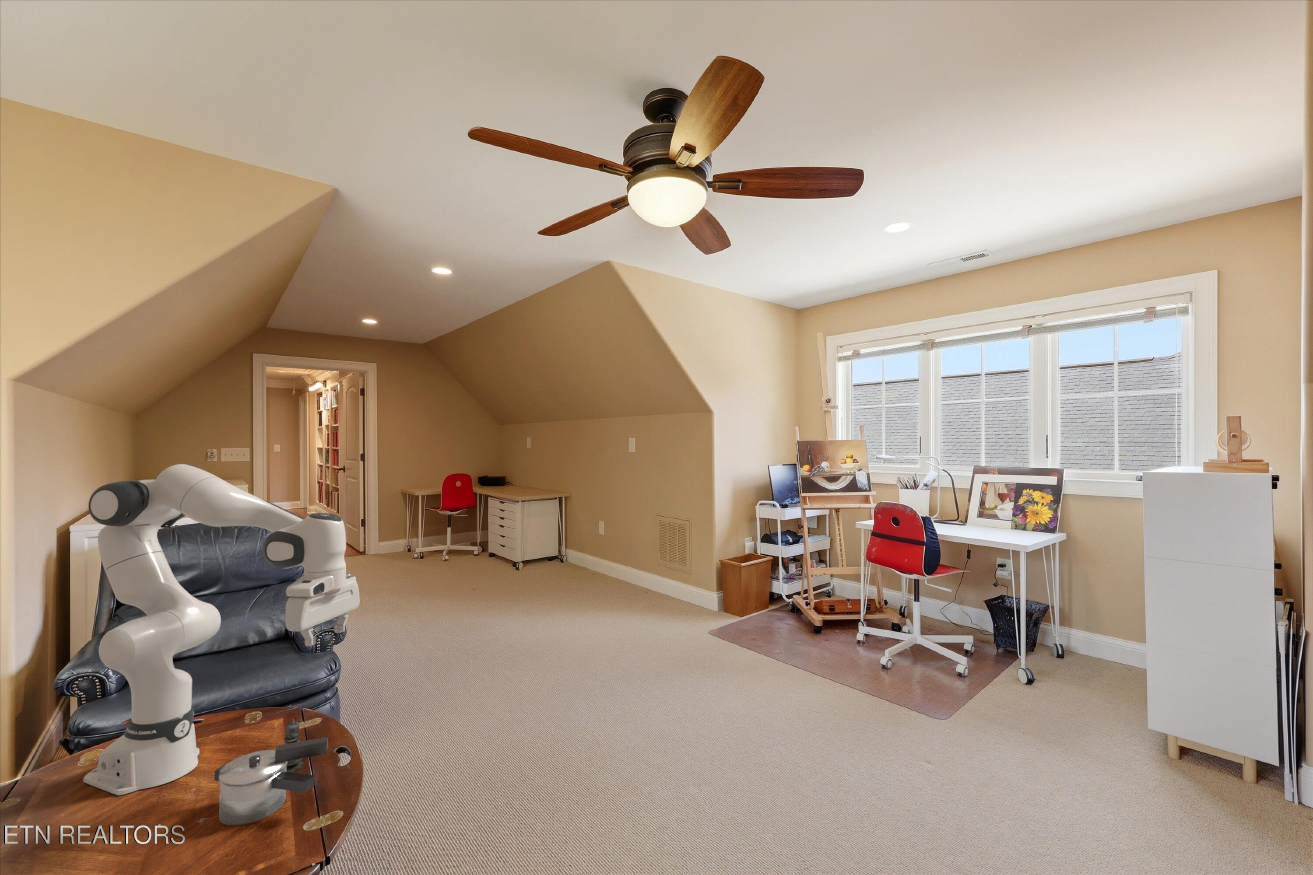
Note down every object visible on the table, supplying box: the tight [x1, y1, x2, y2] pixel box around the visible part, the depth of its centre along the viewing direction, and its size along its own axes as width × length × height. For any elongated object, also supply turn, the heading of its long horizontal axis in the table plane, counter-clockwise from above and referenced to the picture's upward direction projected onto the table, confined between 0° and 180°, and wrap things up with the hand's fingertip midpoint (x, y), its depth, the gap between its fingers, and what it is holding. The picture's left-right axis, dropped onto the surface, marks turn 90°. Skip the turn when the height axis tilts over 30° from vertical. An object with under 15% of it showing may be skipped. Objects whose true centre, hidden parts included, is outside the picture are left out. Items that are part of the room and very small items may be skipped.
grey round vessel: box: [283, 718, 305, 773], centre depth 141 cm, size 6×6×12 cm
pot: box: [214, 763, 316, 826], centre depth 125 cm, size 23×12×8 cm, turn 80°
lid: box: [218, 736, 329, 786], centre depth 127 cm, size 20×12×4 cm, turn 115°
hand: (325, 638), depth 137 cm, fingers open, 8 cm apart
